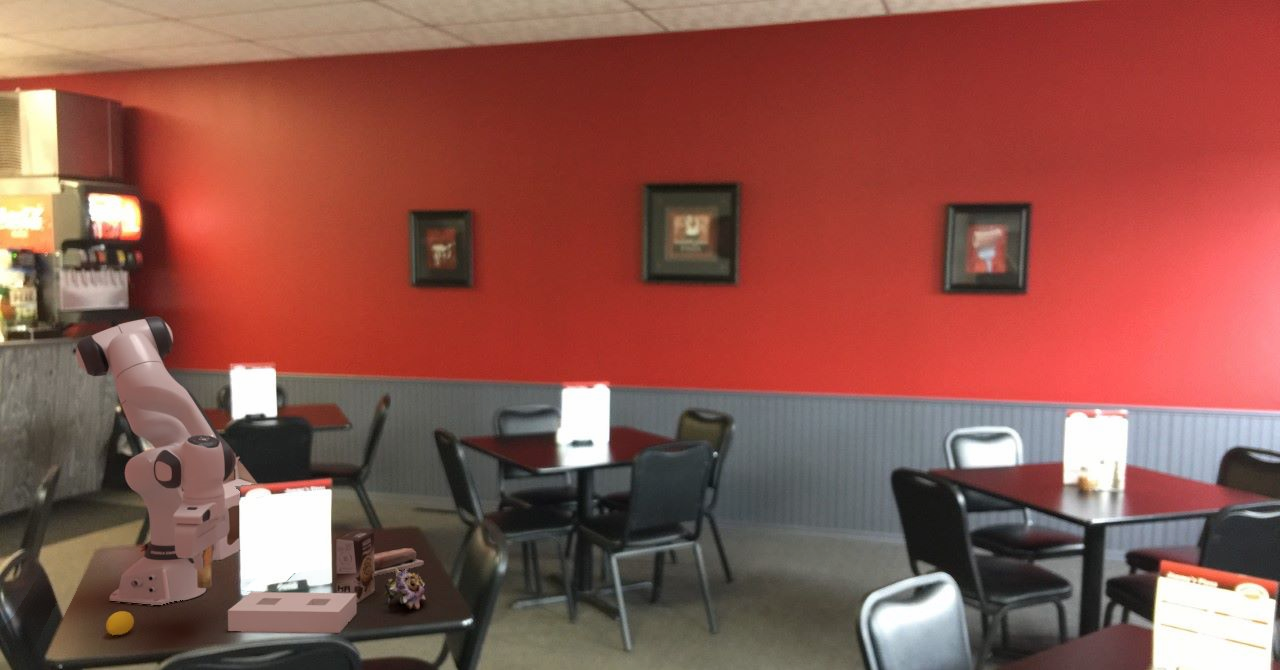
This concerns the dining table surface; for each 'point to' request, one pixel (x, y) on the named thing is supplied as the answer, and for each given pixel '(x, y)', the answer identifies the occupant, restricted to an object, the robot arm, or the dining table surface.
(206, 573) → the brass pin
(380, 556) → the packaged product
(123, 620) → the lemon
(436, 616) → the dining table surface
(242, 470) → the gable box
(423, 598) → the passion flower
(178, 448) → the robot arm
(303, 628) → the socket block
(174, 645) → the dining table surface
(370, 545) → the coffee box
